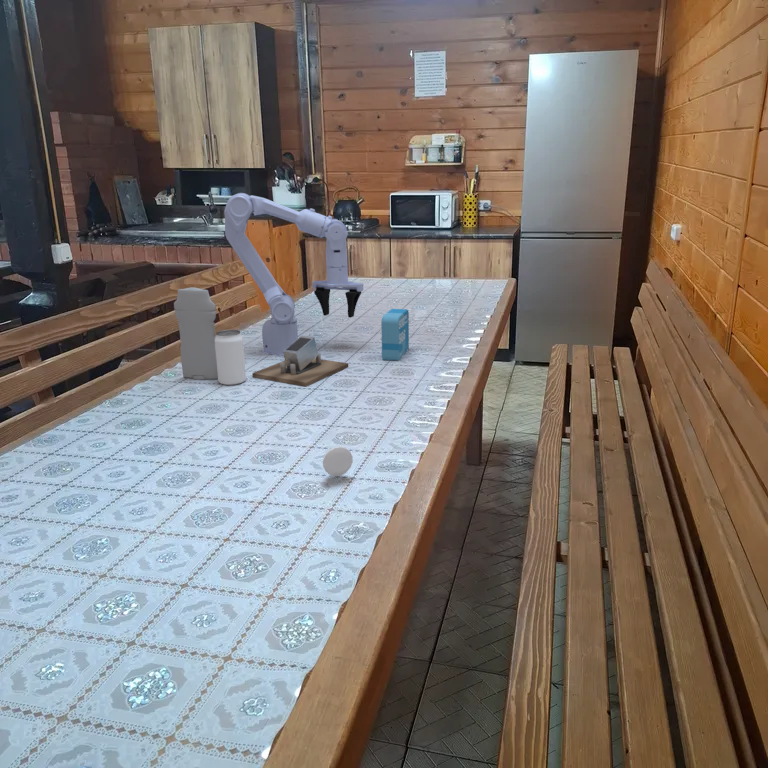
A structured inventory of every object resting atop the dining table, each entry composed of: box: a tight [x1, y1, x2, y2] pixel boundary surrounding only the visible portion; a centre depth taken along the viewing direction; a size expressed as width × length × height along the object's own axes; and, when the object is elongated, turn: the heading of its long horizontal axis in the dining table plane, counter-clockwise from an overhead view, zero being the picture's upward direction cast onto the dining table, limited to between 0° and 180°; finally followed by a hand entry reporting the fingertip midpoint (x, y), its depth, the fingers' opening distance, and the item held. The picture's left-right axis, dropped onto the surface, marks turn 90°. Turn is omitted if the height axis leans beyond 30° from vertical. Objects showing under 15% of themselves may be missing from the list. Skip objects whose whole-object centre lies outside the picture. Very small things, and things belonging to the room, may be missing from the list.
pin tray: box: [252, 353, 349, 387], centre depth 166 cm, size 16×18×4 cm
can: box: [215, 329, 247, 386], centre depth 158 cm, size 6×6×12 cm
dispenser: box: [173, 286, 218, 381], centre depth 160 cm, size 11×4×22 cm, turn 77°
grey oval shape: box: [322, 446, 354, 477], centre depth 111 cm, size 5×3×5 cm, turn 113°
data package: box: [380, 308, 410, 362], centre depth 178 cm, size 12×4×12 cm, turn 165°
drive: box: [283, 335, 320, 371], centre depth 165 cm, size 4×8×5 cm, turn 150°
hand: (338, 315), depth 185 cm, fingers open, 7 cm apart
